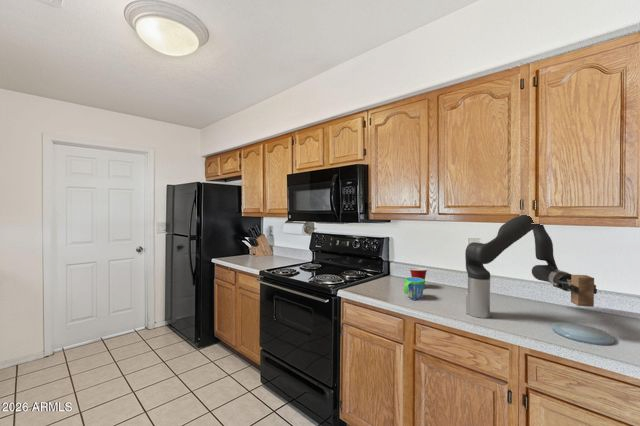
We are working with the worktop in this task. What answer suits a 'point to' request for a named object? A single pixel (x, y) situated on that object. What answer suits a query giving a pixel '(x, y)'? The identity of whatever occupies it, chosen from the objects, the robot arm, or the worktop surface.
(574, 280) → the walnut block
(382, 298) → the worktop surface
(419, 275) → the plastic cup
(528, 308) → the worktop surface
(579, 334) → the slate plate
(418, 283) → the snack cup
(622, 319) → the worktop surface
